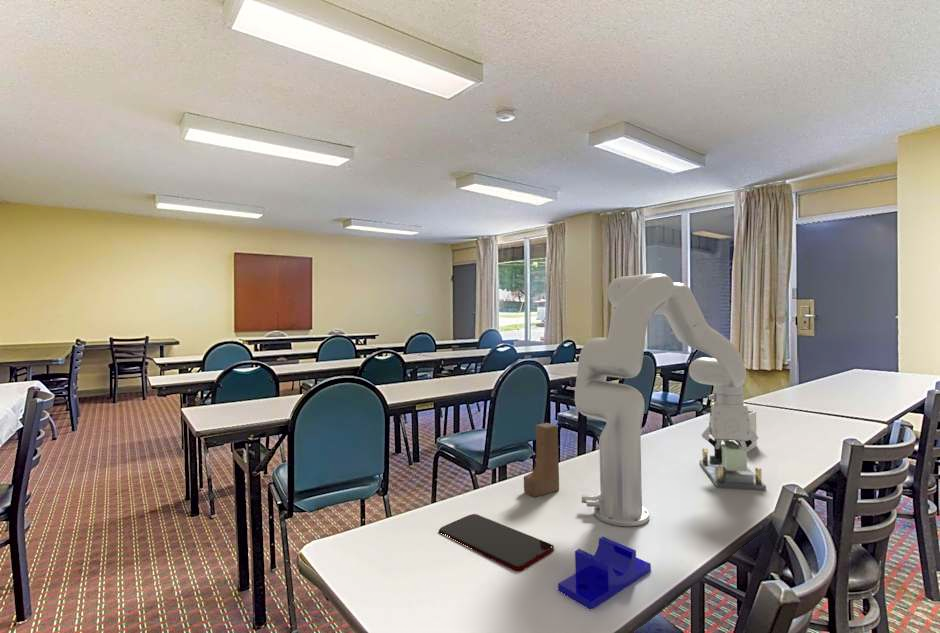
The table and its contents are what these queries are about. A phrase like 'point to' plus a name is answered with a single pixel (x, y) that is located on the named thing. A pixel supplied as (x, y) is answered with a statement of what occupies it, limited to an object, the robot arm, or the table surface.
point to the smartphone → (498, 541)
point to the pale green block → (733, 456)
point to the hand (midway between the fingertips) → (729, 461)
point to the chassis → (731, 475)
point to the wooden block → (544, 462)
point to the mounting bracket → (603, 573)
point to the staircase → (752, 428)
